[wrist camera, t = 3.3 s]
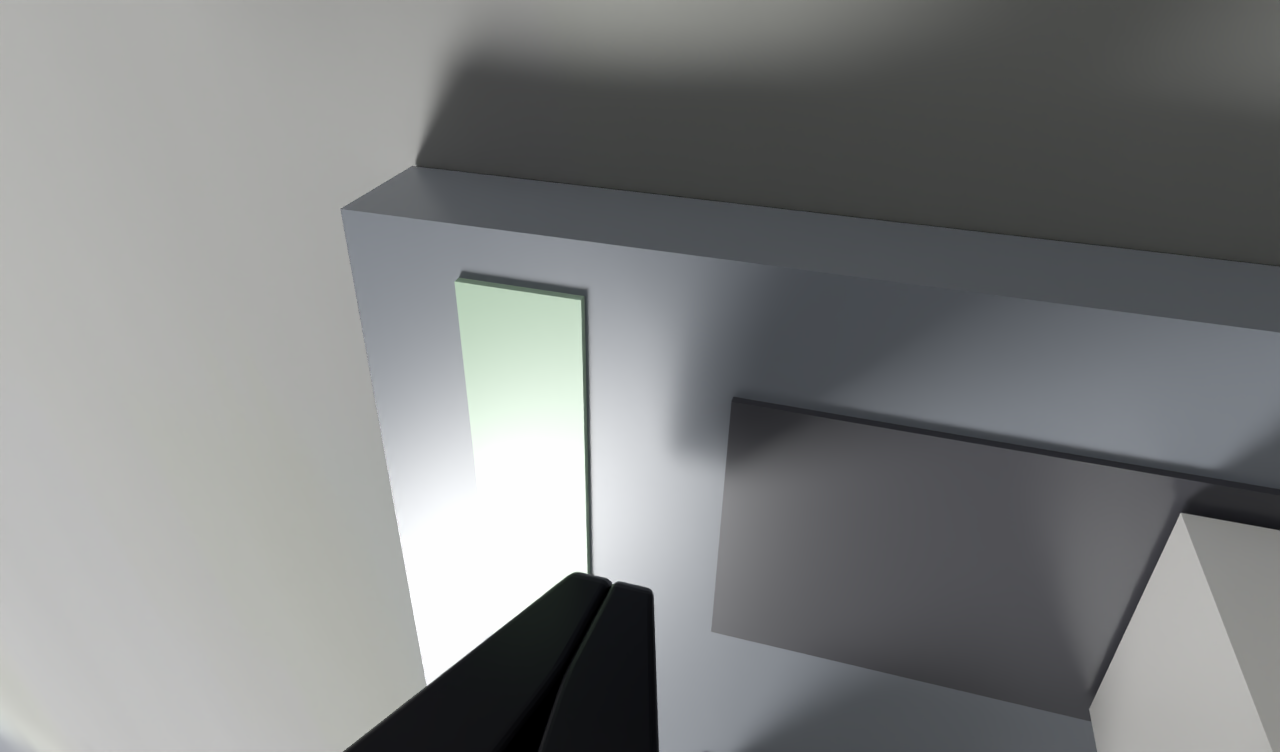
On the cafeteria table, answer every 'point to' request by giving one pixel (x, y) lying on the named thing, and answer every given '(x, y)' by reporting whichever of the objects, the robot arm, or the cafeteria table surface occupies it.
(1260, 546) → the block
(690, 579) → the panel
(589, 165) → the cafeteria table surface
